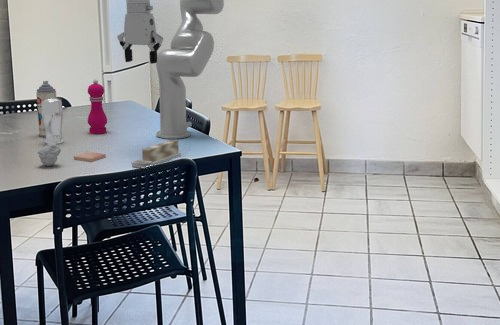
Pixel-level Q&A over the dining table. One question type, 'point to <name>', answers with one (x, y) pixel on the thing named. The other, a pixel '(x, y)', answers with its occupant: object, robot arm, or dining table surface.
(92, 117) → the pepper mill
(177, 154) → the board
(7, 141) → the dining table surface
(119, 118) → the dining table surface
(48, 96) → the aerosol can
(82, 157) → the tile
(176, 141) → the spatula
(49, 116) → the beer glass
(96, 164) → the dining table surface
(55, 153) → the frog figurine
